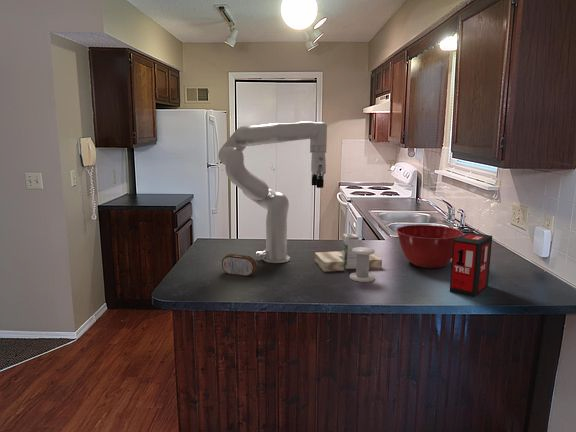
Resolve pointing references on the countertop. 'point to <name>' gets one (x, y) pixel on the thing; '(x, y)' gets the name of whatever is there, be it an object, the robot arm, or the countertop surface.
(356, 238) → the syrup box
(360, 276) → the doorknob
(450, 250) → the mixing bowl
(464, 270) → the cleaning product box
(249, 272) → the tin
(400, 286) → the countertop surface
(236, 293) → the countertop surface
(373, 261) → the notched board
